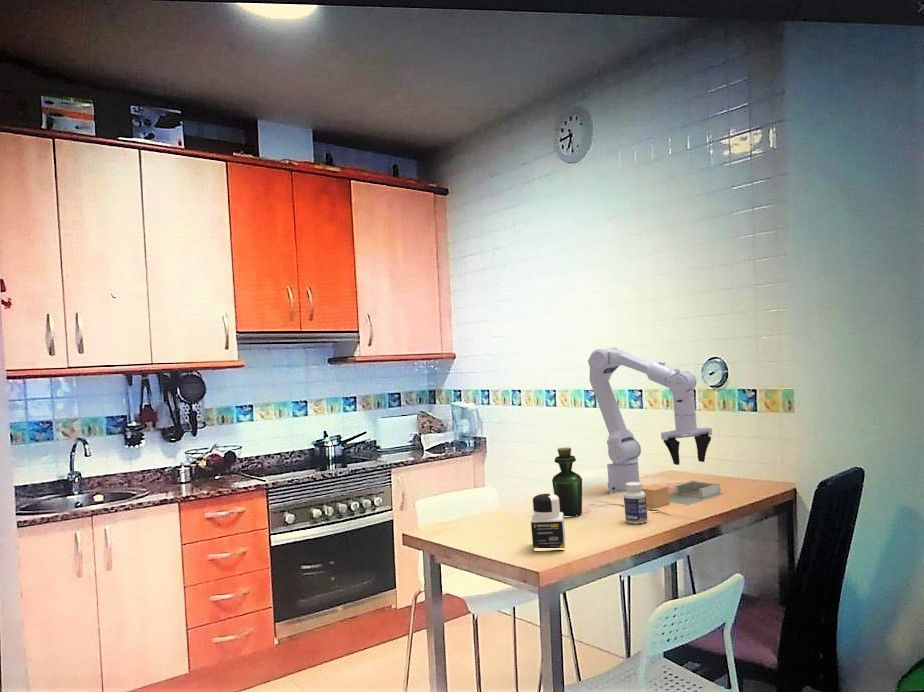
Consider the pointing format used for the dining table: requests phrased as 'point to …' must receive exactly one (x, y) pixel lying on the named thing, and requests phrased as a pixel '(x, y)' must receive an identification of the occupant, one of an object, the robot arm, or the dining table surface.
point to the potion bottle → (567, 484)
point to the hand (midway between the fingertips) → (689, 462)
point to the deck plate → (687, 499)
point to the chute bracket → (697, 489)
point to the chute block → (656, 496)
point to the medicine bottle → (547, 522)
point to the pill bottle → (635, 503)
